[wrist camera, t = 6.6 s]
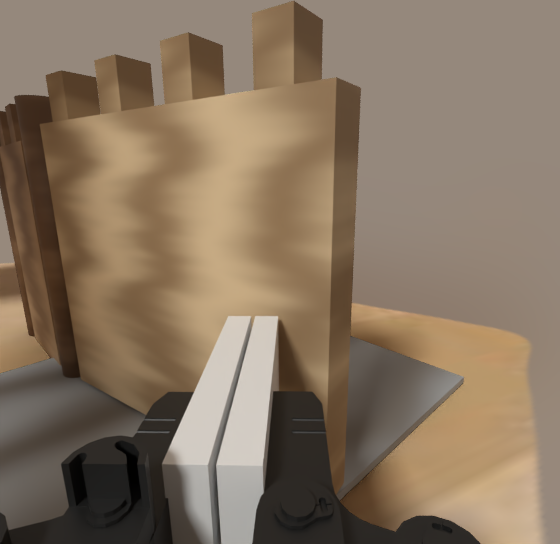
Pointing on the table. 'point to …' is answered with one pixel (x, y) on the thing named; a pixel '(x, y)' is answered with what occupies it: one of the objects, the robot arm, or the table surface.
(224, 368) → the robot arm
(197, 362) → the fence panel
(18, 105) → the fence base
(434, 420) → the table surface
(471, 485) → the table surface
